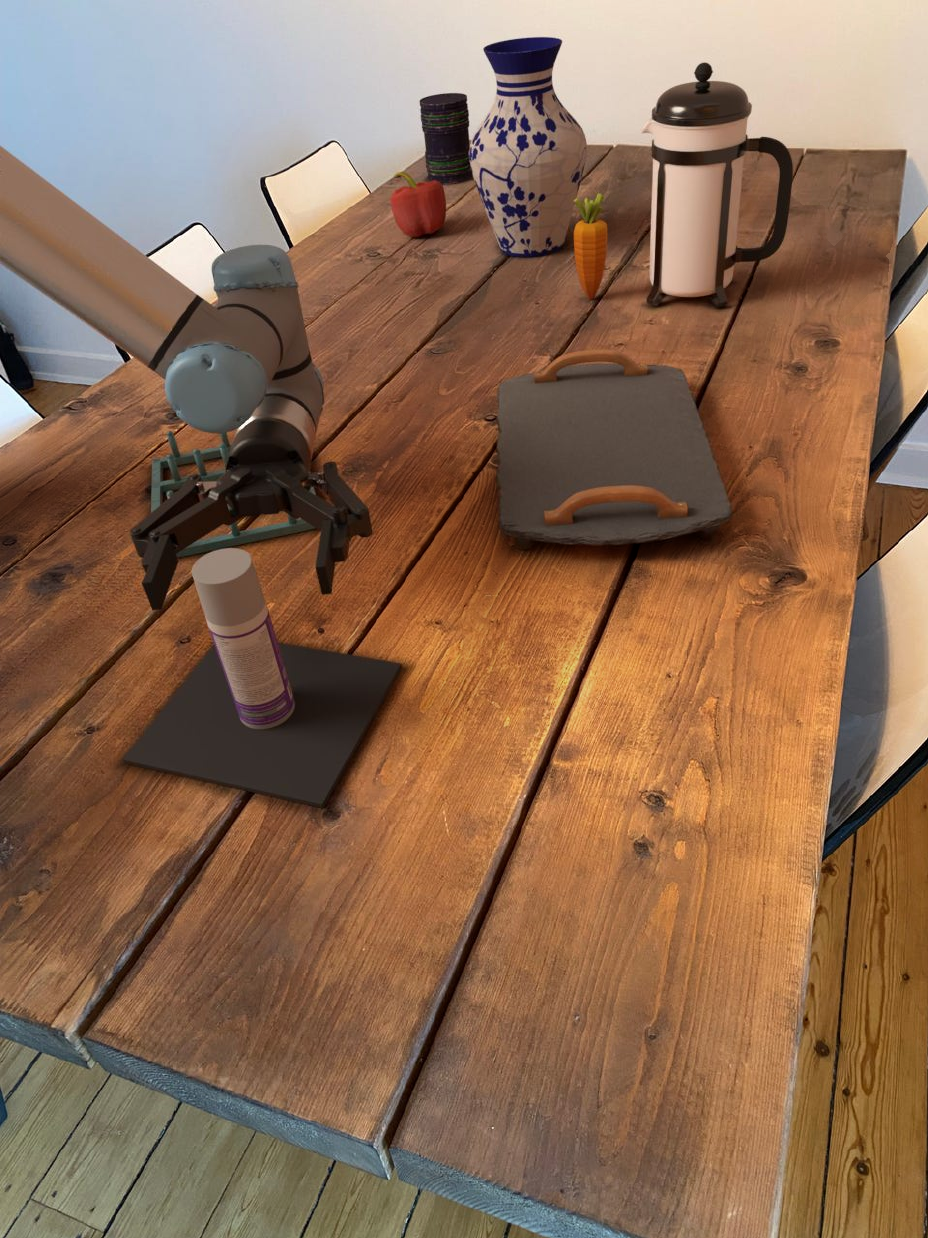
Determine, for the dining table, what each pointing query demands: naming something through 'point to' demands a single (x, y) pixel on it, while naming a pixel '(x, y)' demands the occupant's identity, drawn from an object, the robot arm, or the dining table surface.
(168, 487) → the dish rack
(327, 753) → the mat
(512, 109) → the vase
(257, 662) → the container
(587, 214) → the carrot
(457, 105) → the storage jar
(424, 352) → the dining table surface
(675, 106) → the coffee press
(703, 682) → the dining table surface
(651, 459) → the serving tray
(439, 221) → the vegetable
